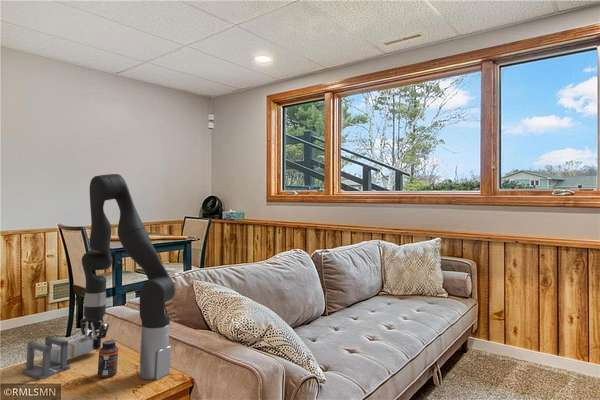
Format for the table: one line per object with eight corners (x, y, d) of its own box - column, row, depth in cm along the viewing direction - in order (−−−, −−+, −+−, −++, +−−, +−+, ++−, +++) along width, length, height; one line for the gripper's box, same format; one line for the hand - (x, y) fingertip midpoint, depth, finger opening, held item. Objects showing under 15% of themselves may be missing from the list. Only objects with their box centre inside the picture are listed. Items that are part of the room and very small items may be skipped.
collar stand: (51, 362, 138) (53, 335, 138) (69, 368, 134) (71, 340, 134) (22, 373, 128) (23, 343, 129) (40, 380, 124) (42, 349, 125)
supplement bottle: (108, 379, 127) (110, 345, 127) (93, 377, 128) (95, 343, 128) (120, 372, 132) (122, 339, 133) (105, 370, 134) (107, 337, 134)
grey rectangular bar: (101, 347, 148) (101, 335, 148) (57, 363, 132) (58, 350, 133) (93, 345, 150) (94, 334, 150) (50, 360, 134) (50, 347, 134)
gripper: (73, 302, 147) (71, 347, 147) (98, 308, 141) (96, 354, 141) (91, 298, 154) (89, 341, 153) (116, 303, 148) (114, 348, 147)
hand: (92, 347), depth 147 cm, fingers closed on grey rectangular bar, 4 cm apart
